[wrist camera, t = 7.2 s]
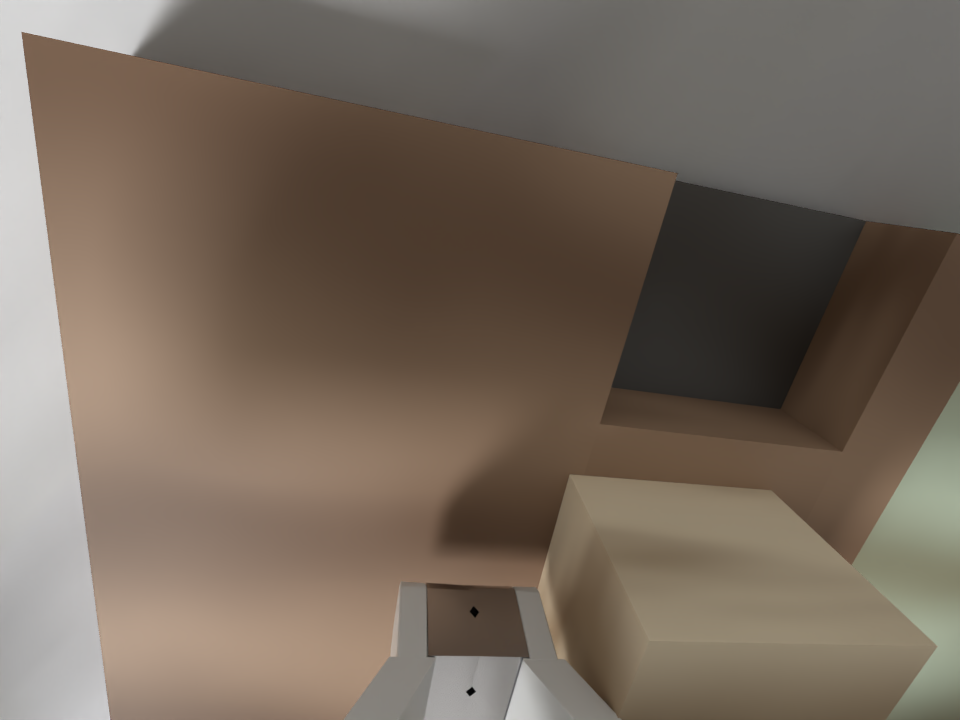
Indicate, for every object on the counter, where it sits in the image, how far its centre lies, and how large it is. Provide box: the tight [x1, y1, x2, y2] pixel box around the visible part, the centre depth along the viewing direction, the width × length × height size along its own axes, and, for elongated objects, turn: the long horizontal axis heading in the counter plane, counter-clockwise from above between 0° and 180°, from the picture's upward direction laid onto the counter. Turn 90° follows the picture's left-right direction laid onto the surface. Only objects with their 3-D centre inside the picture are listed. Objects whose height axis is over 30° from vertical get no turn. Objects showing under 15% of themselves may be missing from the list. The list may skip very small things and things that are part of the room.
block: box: [537, 474, 938, 720], centre depth 10 cm, size 5×5×4 cm
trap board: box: [22, 32, 960, 720], centre depth 12 cm, size 18×27×6 cm, turn 79°
